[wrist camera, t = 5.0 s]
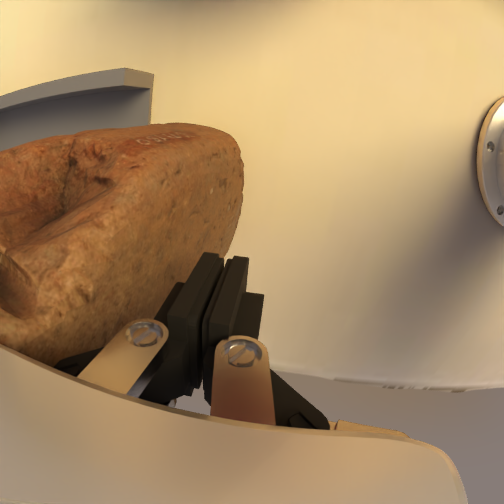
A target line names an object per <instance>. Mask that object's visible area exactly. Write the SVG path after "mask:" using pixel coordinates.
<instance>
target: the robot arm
mask: <svg viewBox="0 0 504 504" xmlns="http://www.w3.org/2000/svg"><path fill="white" fill-rule="evenodd" d="M477 176H478V181H479V187H480V191H481V194H482V197H483V201H484V203H485V205H486V207H487V209H488V211H489V212H490V214H491V215H492V216H493V218H494V219H495V220H496V221H497V222H498V223H499V224H501V225H502V226H503V227H504V97H503V98H501V99H500V100H498V101H497V102H496V103H495V104H494V105H493V107H492V108H491V109H490V111H489V112H488V114H487V116H486V118H485V120H484V123H483V126H482V128H481V131H480V136H479V141H478V147H477ZM248 265H249V258H247V257H240V256H234V257H233V259H228V260H227V262H226V264H225V267H224V258H219V254H218V253H211V252H203V254H202V256H201V257H200V259H199V261H198V262H197V264H196V266H195V267H194V269H193V271H192V272H191V274H190V276H189V277H188V279H187V281H186V282H185V283H183V282H177V283H176V284H175V285H174V287H173V288H172V290H171V292H170V293H169V295H168V296H167V298H166V300H165V301H164V303H163V304H162V306H161V308H160V309H159V311H158V312H157V314H156V316H155V317H154V319H138V320H134V321H132V322H130V323H128V324H127V325H126V326H124V327H123V328H122V330H121V331H120V332H119V333H118V334H117V335H116V336H115V337H114V338H113V339H112V340H111V341H110V342H109V343H108V344H107V345H106V346H105V347H102V348H98V349H95V350H92V351H88V352H85V353H82V354H78V355H75V356H71V357H68V358H65V359H62V360H60V361H59V362H58V363H57V364H56V365H55V366H54V367H50V366H48V365H46V364H43V363H41V362H39V361H37V360H34V359H32V358H30V357H28V356H26V355H23V354H21V353H19V352H17V351H15V350H13V349H11V348H8V347H6V346H4V345H1V344H0V504H468V500H467V497H466V493H465V489H464V486H463V483H462V481H461V478H460V476H459V473H458V471H457V469H456V467H455V465H454V463H453V462H452V460H451V459H450V458H449V457H448V455H447V454H446V453H444V452H443V451H442V450H440V449H439V448H436V447H434V446H433V445H430V444H428V443H425V442H422V441H418V440H415V439H411V438H410V437H408V436H407V435H406V434H405V433H403V432H399V431H397V430H390V429H384V428H378V427H373V426H367V425H362V424H357V423H352V422H347V421H343V420H338V422H337V423H336V422H332V421H328V420H327V418H326V417H325V416H324V415H323V414H322V413H321V412H320V411H319V410H318V409H316V408H315V407H314V406H313V405H312V404H310V403H309V402H308V401H307V400H306V399H304V398H303V397H302V396H301V395H300V394H299V393H297V392H296V391H295V390H294V389H293V388H292V387H290V386H289V385H288V384H287V383H286V382H285V381H284V380H282V379H281V378H280V377H279V376H278V375H277V374H276V373H275V372H273V371H272V370H271V369H270V366H269V357H268V352H267V349H266V347H265V346H264V345H263V343H261V342H260V341H258V336H259V329H260V322H261V315H262V308H263V301H264V294H257V293H249V292H246V286H247V275H248ZM202 379H203V390H204V399H205V400H206V401H207V402H208V404H209V405H210V406H211V412H210V416H209V415H204V414H199V413H194V412H190V411H185V410H181V409H177V408H174V407H175V405H176V402H177V400H176V398H178V397H180V396H183V395H186V396H192V392H193V389H194V388H196V389H199V388H200V385H201V382H202Z"/></svg>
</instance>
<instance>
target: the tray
mask: <svg viewBox="0 0 504 504" xmlns="http://www.w3.org/2000/svg"><path fill="white" fill-rule="evenodd" d="M153 78H154V74H151V73H147V72H142V71H138V70H133V69H128V68H120V69H113V70H106V71H99V72H93V73H88V74H82V75H77V76H72V77H67V78H63V79H58V80H54V81H50V82H46V83H42V84H38V85H35V86H31V87H28V88H24V89H21V90H18V91H15V92H12V93H8V94H6V95H3V96H0V151H3V150H6V149H10V148H12V147H15V146H18V145H21V144H25V143H28V142H31V141H35V140H39V139H43V138H47V137H51V136H56V135H73V134H76V133H78V132H81V131H85V130H95V129H105V128H127V127H135V126H145V125H150V118H151V102H152V89H153Z"/></svg>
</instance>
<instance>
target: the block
mask: <svg viewBox="0 0 504 504" xmlns="http://www.w3.org/2000/svg"><path fill="white" fill-rule="evenodd" d="M240 153H241V151H240V149H239V146H238V144H237V142H236V141H235V139H234V138H233V137H232V136H231V135H229V134H227V133H225V132H223V131H220V130H218V129H215V128H211V127H207V126H201V125H196V124H188V123H167V124H150V125H145V126H135V127H127V128H105V129H95V130H85V131H81V132H78V133H76V134H73V135H56V136H51V137H47V138H43V139H39V140H35V141H31V142H28V143H25V144H21V145H18V146H15V147H12V148H10V149H6V150H3V151H0V344H1V345H4V346H6V347H8V348H11V349H13V350H15V351H17V352H19V353H21V354H23V355H26V356H28V357H30V358H32V359H34V360H37V361H39V362H41V363H43V364H46V365H48V366H50V367H54V366H55V365H56V364H57V363H58V362H59V361H60V360H62V359H65V358H68V357H71V356H75V355H78V354H82V353H85V352H88V351H92V350H95V349H98V348H102V347H105V346H106V345H107V344H108V343H109V342H110V341H111V340H112V339H113V338H114V337H115V336H116V335H117V334H118V333H119V332H120V331H121V330H122V328H123V327H124V326H126V325H127V324H128V323H130V322H132V321H134V320H138V319H154V317H155V316H156V314H157V312H158V311H159V309H160V308H161V306H162V304H163V303H164V301H165V300H166V298H167V296H168V295H169V293H170V292H171V290H172V288H173V287H174V285H175V284H176V283H177V282H183V283H185V282H186V281H187V279H188V277H189V276H190V274H191V272H192V271H193V269H194V267H195V266H196V264H197V262H198V261H199V259H200V257H201V256H202V254H203V252H211V253H218V254H219V258H224V256H225V255H226V253H227V252H228V250H229V247H230V244H231V242H232V239H233V236H234V233H235V231H236V228H237V224H238V219H239V216H240V214H241V206H242V202H243V194H242V191H243V186H244V171H243V167H244V163H243V161H242V159H241V157H240Z"/></svg>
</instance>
